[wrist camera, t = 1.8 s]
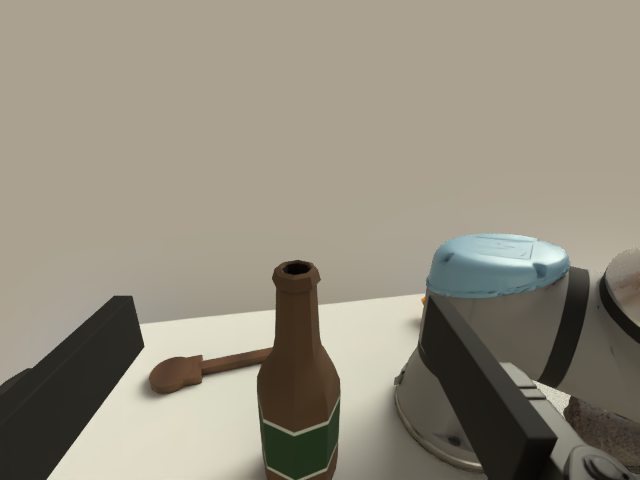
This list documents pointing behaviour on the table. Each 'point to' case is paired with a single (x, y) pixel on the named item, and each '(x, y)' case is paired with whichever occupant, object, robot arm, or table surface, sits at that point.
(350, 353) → the table surface
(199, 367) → the wooden spoon
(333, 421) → the beer bottle
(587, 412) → the perforated stone tool
